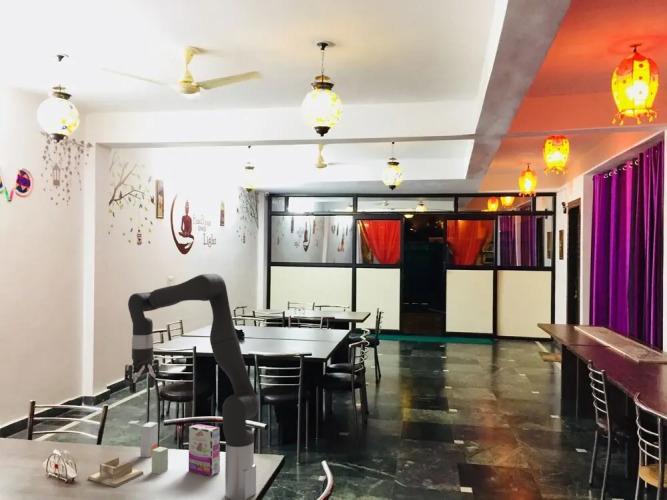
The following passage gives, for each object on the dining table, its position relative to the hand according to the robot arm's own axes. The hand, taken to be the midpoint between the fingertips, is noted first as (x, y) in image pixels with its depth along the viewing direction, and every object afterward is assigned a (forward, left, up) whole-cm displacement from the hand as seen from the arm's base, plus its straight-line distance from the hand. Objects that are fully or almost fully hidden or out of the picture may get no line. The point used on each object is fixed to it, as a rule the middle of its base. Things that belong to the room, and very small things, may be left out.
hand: (142, 390), depth 194 cm
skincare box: (+9, -12, -30) cm, 33 cm away
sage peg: (-7, -2, -29) cm, 30 cm away
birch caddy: (+3, +9, -29) cm, 31 cm away
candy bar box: (-22, -9, -30) cm, 38 cm away
